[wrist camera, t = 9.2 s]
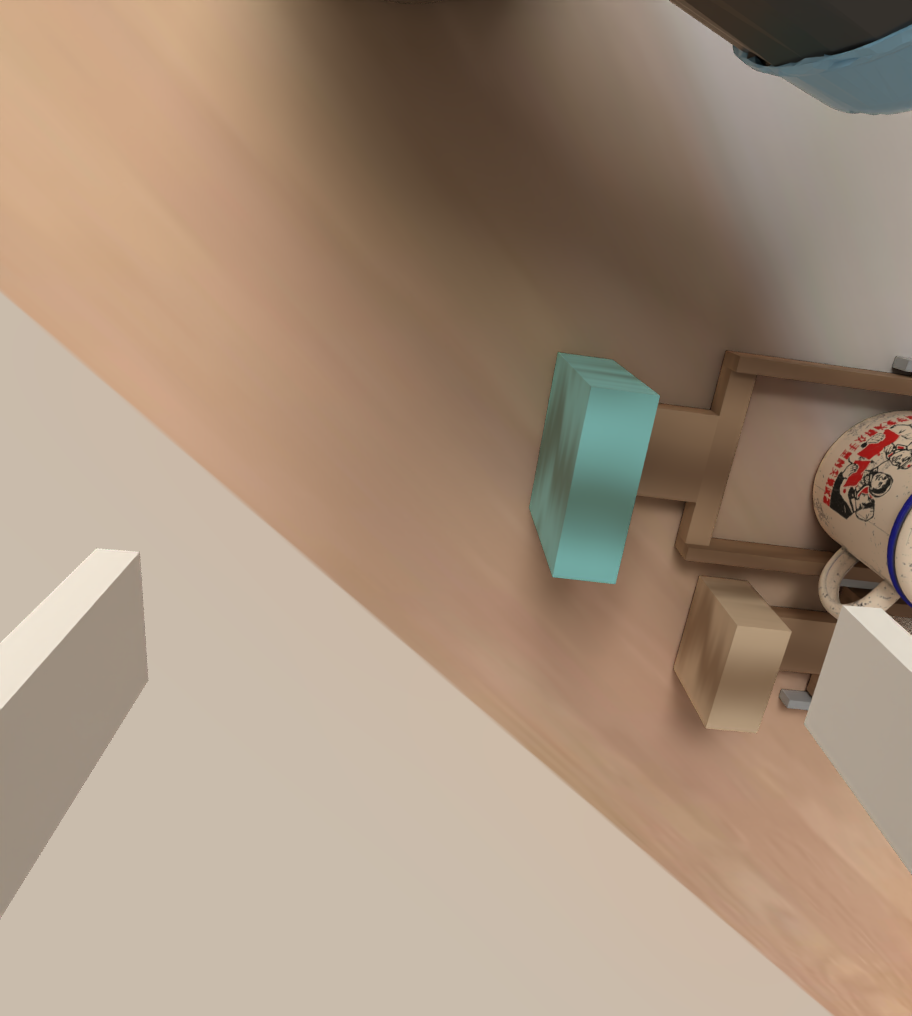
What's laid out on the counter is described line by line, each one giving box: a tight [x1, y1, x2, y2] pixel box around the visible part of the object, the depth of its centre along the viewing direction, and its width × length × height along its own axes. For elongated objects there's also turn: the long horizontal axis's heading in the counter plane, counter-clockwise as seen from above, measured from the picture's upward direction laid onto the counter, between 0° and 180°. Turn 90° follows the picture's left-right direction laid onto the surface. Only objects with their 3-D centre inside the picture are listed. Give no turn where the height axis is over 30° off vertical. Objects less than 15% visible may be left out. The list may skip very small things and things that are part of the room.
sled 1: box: [529, 350, 912, 584], centre depth 38 cm, size 12×26×9 cm, turn 82°
